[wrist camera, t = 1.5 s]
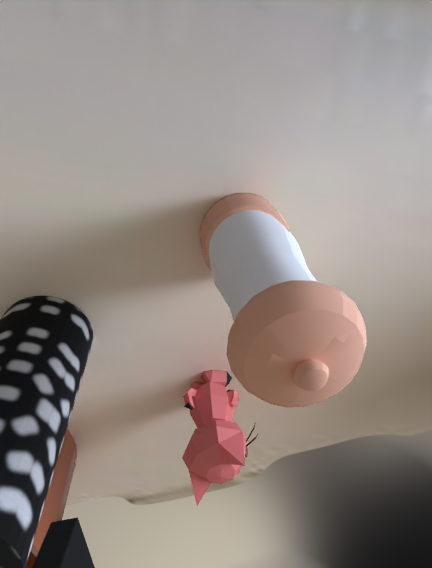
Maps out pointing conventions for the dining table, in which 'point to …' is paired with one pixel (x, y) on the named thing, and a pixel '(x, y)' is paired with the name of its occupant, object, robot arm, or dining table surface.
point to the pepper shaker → (279, 307)
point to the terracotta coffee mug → (55, 494)
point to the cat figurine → (213, 433)
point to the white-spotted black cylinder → (35, 410)
